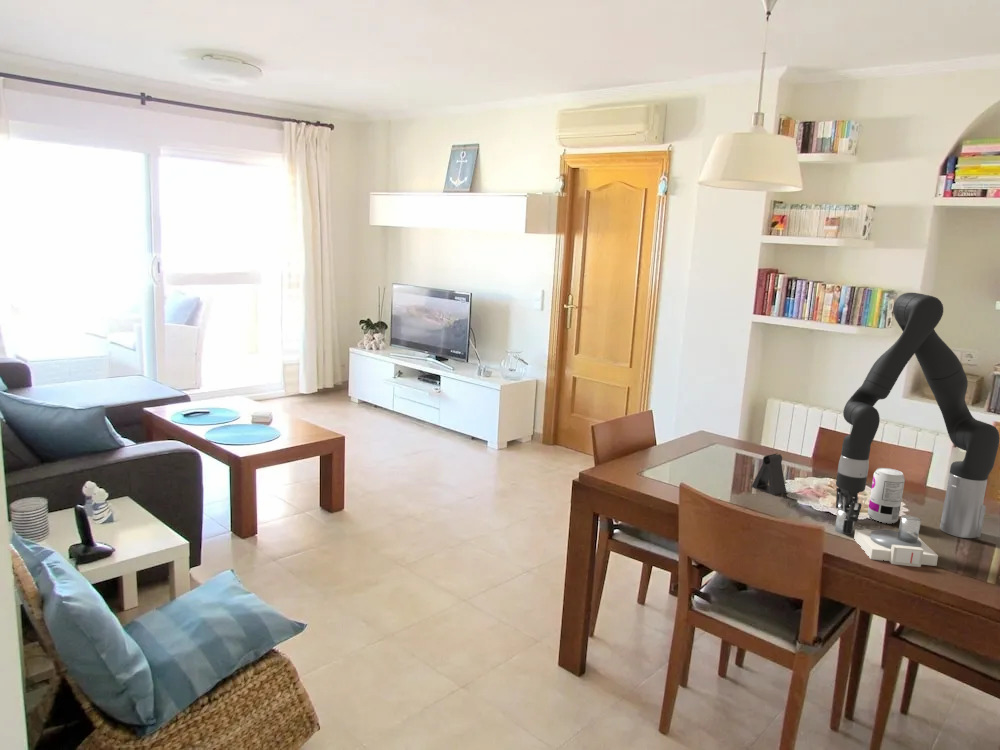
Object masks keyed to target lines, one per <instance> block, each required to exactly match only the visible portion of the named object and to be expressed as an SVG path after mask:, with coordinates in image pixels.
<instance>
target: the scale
mask: <svg viewBox="0 0 1000 750" xmlns="http://www.w3.org/2000/svg"><path fill="white" fill-rule="evenodd" d="M898 532H899V531H897V530H891V529H875V530H873V531H872V530H863V529H855V530H854V537H853V539H855V540H854V541H855V542H856V543H857V544H859V545H860V546H861V547H860V546H859V547H860V548H861V550H864V551H865V552H864V551H863V552H864V553H865V554H866V555H867V557H868V556H869V557H868V558H869V559H870V560H874V561H875V560H876V561H883V560H884V561H885V562H889V563H890V564H891V565H897V566H906V567H907V566H908V567H917V568H921V567H922V565H923V566H934V567H937V563H938V558H939V555H938V554H937V553H936V552H935V551H934V550H933V549H932V548H931V547H929V545H927V544H926V543H925V542H924V541H923V540H922V539H921V538H920V537H919V536H918V541H917V543H907V542H903V541H901V540H899V539H898ZM884 561H883V562H884Z"/></svg>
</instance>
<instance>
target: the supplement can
mask: <svg viewBox="0 0 1000 750" xmlns="http://www.w3.org/2000/svg"><path fill="white" fill-rule="evenodd" d="M905 481H906V480H905V475H904V473H903V472H902V471H900V470H899V469H898V470H897V469H894V468H889V467H878V468H876V470H875V471H874V473H873V476H872V483H871V490H870V494H869V495H870V497H869V501H868V507H867V509H868V510H867V516H868V515H869V516H870V517H871V518H872V519H874V520H877V521H879V522H878V523H880V522H882V523H881V524H886V523H887V525H888V524H889V525H893V524H895V523H897V522H898V521H899V517H900V512H901V505H902V499H903V492H904V487H905ZM869 516H868V517H869ZM870 517H869V518H870ZM871 518H870V519H871ZM872 519H871V520H872ZM874 520H873V521H874ZM877 521H876V522H877ZM892 523H893V524H892Z"/></svg>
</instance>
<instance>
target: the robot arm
mask: <svg viewBox="0 0 1000 750" xmlns="http://www.w3.org/2000/svg"><path fill="white" fill-rule="evenodd" d="M892 308H893V310H892V311H893V316H894V319H895V320H896V322H897V325H898V326H899V327H900V329H901V331H902V333H901V334H900V336H899V338H897V340H896V341H895V342H894V343H893V344H892V345H891V346H890V347H889V348H888V349H887V350H886V351H885V352H883V353H882V354H881V355H880V356H879V357H878V358H877V360H876V361H875V362H874V363H873V364H872V366H871V368H870V370H869V371H868V373H867V375H866V376H865V378H864V379H863V383H862V385H861V386H860V387H858V389H857V390H856V391H854V393H853V395H851V397H850V398H849V399H848V401H846V403H845V405H844V408H843V413H842V416H843V418H844V420H845V421H846V423H848V424H849V425H852V427H851V431H850V432H849V433H850V434H847V435H845V436H844V438H843V440H842V441H843V442H842V446H841V453H840V458H839V461H838V465H837V466H838V467H837V474H836V480H835V486H836V487H837V488H836V497H835V498H836V499H835V508H836V509H837V512H838V509H839V508H843V512H844V513H845V514H844V525H843V532H844V533H848V534H847V535H852V534H853V533H852V527H853V521H854V523H856V522H858V520H859V515H860V513H861V509H862V506H863V505H862V502H861V503H860V502H859V496H858V495H859V493H862V492H864V491H865V490H866V486H867V481H868V480H867V479H868V473H869V460H870V453H871V445H872V443H873V441H874V438H875V437H876V434H877V431H878V429H879V427H880V420H881V419H880V413H879V411H878V409H877V408H876V407H875V404H877V402H878V401H879V400H885V399H886V398H888V396H889V395H890V393H891V391H892V390H893V388H894V386H895V385H896V383H897V381H898V379H899V377H900V375H901V374H902V372H903V370H904V369H905V367H906V365H907V364H908V363H909V362H910V360H912V357H913V356H914V355H915V356H916V357H915V358H916V359H917V361H918V364H919V366H920V368H921V370H922V372H923V373H922V374H923V376H924V378H925V380H926V382H927V384H928V386H929V388H930V390H931V392H932V394H933V397H934V399H935V402H936V403H937V406H938V408H939V409H940V410H939V411H940V412H941V414H942V418H943V421H944V424H945V427H946V431H947V434H948V437H949V439H950V441H951V443H952V444H953V445H954V446H955V447H957V448H958V449H961V450H962V451H966V452H965V456H964V458H963V460H958V461H953V462H952V463H951V464H950V468H949V472H948V473H949V474H948V479H947V485H946V490H945V496H944V497H945V498H944V502H943V508H942V512H941V513H942V514H941V519H940V522H939V523H940V525H939V530H941V531H942V532H943V533H945V534H948V535H951V536H954V537H958V538H962V539H974V538H981V535H982V529H983V526H984V525H983V524H984V520H985V514H986V508H987V506H986V505H985V504H984V500H985V495H986V491H987V485H988V484H987V483H988V479H989V475H990V473H992V472H991V471H992V470H993V468H994V465H995V461H996V457H997V453H998V449H999V446H1000V432H999V430H998V428H997V427H996V426H994V425H992V424H990V423H987V422H984V421H981V420H979V419H976V418H975V417H974V416H973V415H972V414H971V411H970V409H969V407H968V404H967V403H966V394H967V391H968V386H969V385H968V384H969V383H968V376H967V374H966V372H965V370H964V367H963V366H962V363H961V361H960V360H959V357H958V356H957V355H956V353H955V352H954V351H953V350H952V349H951V348H950V347H949V345H948V344H947V343H945V341H944V340H943V339H942V338H941V337H940V336H939V334H938V333H937V332H936V329H935V328H936V327H937V326H938V324H939V323H940V321H941V319H942V318H943V315H944V304H943V302H942V301H941V300H940V299H939V298H938V297H937V296H936V297H935V296H933V295H929V294H924V293H919V292H918V293H917V292H905V293H902V294H900V295H899V296H898V297H897V298H896V300H895V301H894V303H893V307H892ZM848 509H849V510H848ZM851 515H852V517H851ZM853 528H854V527H853ZM851 533H852V534H851Z"/></svg>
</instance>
